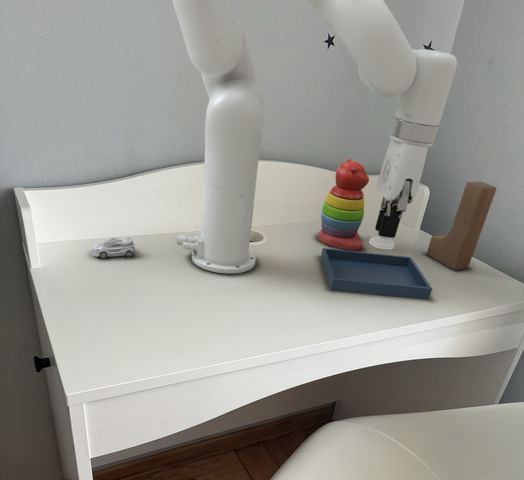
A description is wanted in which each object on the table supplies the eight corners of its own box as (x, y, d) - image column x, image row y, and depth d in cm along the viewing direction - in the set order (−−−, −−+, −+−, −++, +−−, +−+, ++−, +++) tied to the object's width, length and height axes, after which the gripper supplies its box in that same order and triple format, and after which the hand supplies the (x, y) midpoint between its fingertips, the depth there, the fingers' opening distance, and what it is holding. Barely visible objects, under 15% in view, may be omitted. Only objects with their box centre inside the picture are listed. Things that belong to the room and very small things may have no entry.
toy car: (90, 251, 99) (89, 236, 97) (132, 249, 102) (132, 235, 100) (93, 259, 96) (92, 244, 94) (136, 257, 99) (136, 242, 98)
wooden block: (425, 254, 119) (449, 175, 109) (439, 252, 121) (464, 174, 111) (454, 270, 113) (483, 188, 103) (468, 268, 115) (498, 187, 105)
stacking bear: (363, 252, 115) (382, 170, 106) (318, 247, 115) (334, 164, 105) (356, 235, 125) (373, 158, 115) (315, 230, 124) (328, 153, 114)
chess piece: (394, 251, 98) (410, 199, 93) (368, 246, 99) (382, 194, 93) (393, 243, 102) (408, 192, 97) (369, 237, 103) (382, 187, 97)
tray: (330, 290, 97) (332, 279, 96) (320, 258, 110) (322, 247, 108) (428, 299, 99) (432, 288, 97) (408, 266, 111) (411, 256, 110)
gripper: (382, 121, 96) (358, 217, 105) (404, 138, 82) (374, 247, 92) (421, 127, 96) (393, 222, 106) (449, 145, 83) (414, 252, 93)
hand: (384, 233), depth 99 cm, fingers closed on chess piece
